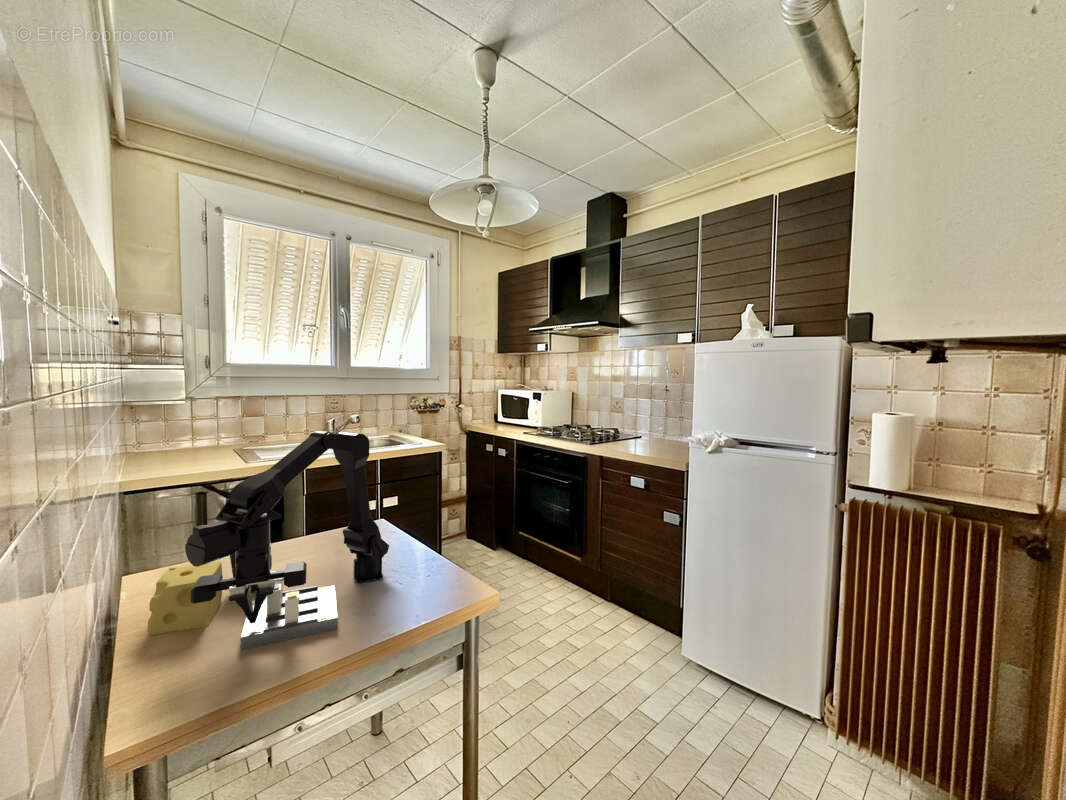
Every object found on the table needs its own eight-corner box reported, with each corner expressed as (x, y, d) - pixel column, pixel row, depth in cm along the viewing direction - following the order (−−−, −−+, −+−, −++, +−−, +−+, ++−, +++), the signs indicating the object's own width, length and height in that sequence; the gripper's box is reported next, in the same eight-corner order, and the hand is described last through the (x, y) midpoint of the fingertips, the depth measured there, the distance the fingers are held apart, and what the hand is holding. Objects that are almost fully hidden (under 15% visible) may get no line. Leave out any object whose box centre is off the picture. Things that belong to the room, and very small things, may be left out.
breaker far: (282, 594, 96) (283, 572, 96) (282, 601, 94) (282, 578, 93) (270, 597, 95) (270, 574, 95) (269, 603, 93) (269, 580, 92)
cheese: (147, 637, 84) (146, 588, 84) (168, 609, 94) (168, 565, 93) (210, 627, 88) (210, 580, 88) (224, 601, 98) (224, 559, 98)
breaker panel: (334, 595, 102) (334, 582, 102) (337, 628, 89) (337, 614, 89) (251, 610, 95) (251, 597, 94) (240, 650, 81) (240, 634, 81)
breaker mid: (281, 605, 92) (281, 582, 92) (280, 612, 89) (280, 588, 89) (268, 608, 91) (268, 584, 91) (266, 615, 88) (267, 590, 88)
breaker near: (298, 614, 89) (299, 589, 89) (298, 621, 87) (298, 596, 86) (285, 616, 88) (285, 592, 88) (284, 624, 85) (284, 599, 85)
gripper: (307, 526, 95) (306, 593, 96) (203, 538, 86) (204, 611, 87) (306, 544, 85) (305, 619, 86) (189, 560, 76) (190, 643, 77)
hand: (253, 622), depth 84 cm, fingers closed
